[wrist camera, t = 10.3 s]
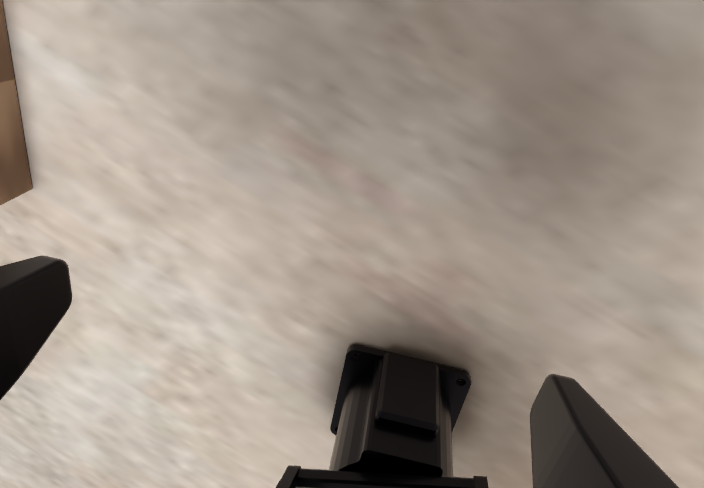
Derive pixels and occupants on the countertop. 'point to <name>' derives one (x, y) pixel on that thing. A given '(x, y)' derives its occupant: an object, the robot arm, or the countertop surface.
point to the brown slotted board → (10, 127)
